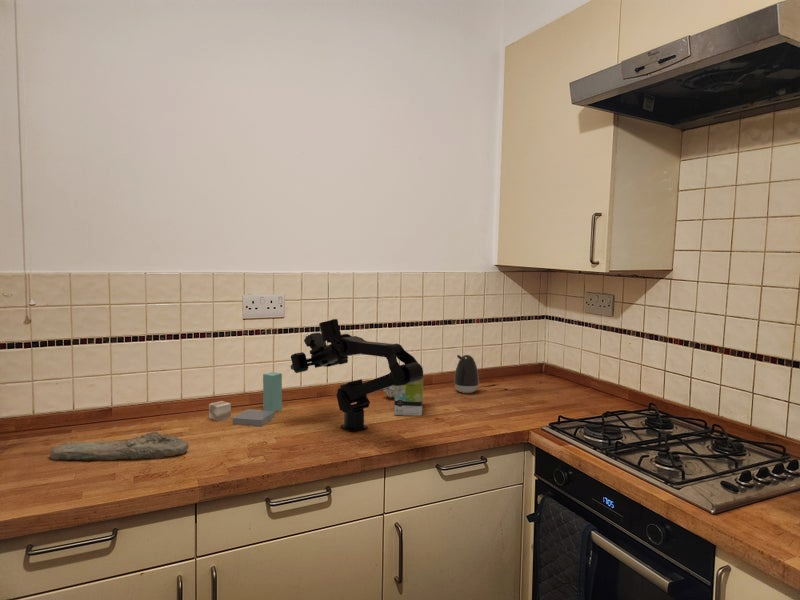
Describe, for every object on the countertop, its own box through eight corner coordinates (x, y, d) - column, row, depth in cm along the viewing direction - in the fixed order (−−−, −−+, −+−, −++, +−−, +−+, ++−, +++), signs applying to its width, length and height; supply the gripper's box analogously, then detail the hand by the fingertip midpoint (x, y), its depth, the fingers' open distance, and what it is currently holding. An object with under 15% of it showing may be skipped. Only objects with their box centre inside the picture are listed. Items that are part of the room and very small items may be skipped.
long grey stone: (62, 454, 147) (43, 471, 138) (60, 436, 147) (40, 452, 137) (193, 444, 151) (183, 459, 142) (191, 427, 151) (181, 441, 141)
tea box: (422, 416, 182) (423, 374, 181) (393, 415, 182) (394, 373, 181) (422, 404, 197) (422, 364, 196) (395, 403, 197) (395, 364, 196)
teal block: (281, 409, 187) (281, 373, 186) (272, 412, 183) (272, 375, 182) (272, 407, 190) (272, 371, 188) (263, 410, 186) (263, 374, 185)
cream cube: (230, 418, 177) (230, 403, 177) (217, 421, 173) (217, 406, 173) (222, 415, 180) (222, 400, 180) (209, 418, 176) (208, 403, 176)
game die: (397, 408, 204) (405, 392, 198) (376, 400, 203) (384, 383, 198) (402, 392, 211) (409, 375, 205) (382, 384, 211) (389, 367, 205)
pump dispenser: (465, 387, 223) (466, 351, 222) (483, 392, 215) (485, 355, 214) (448, 390, 217) (448, 354, 215) (466, 396, 209) (467, 358, 207)
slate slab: (274, 418, 179) (274, 411, 179) (261, 427, 169) (261, 420, 169) (247, 416, 181) (247, 409, 180) (232, 425, 171) (232, 418, 171)
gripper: (343, 327, 183) (316, 340, 192) (301, 333, 168) (273, 346, 178) (352, 358, 181) (324, 369, 191) (310, 367, 167) (281, 378, 176)
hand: (301, 365), depth 184 cm, fingers open, 9 cm apart
